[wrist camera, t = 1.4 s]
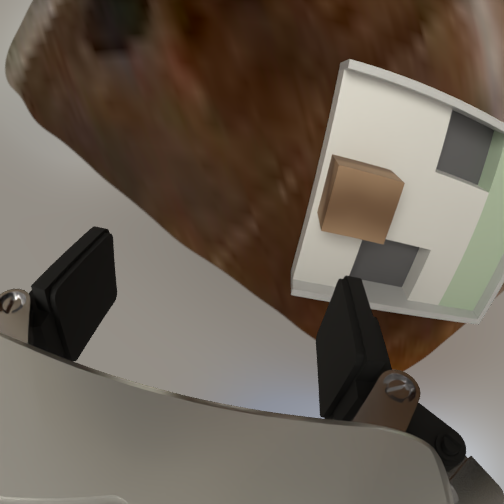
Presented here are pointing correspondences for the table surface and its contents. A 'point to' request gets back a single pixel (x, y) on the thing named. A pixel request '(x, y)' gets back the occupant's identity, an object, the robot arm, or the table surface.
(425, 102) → the box
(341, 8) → the table surface
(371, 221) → the walnut block
